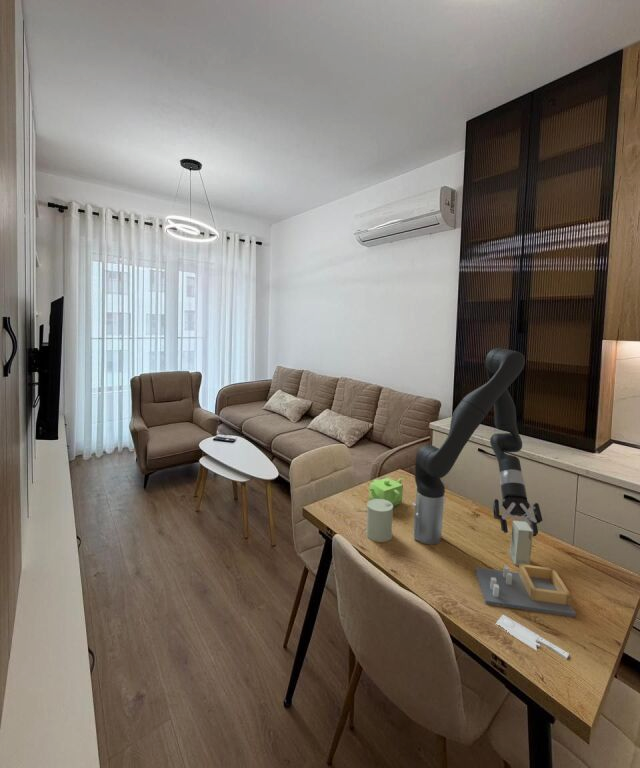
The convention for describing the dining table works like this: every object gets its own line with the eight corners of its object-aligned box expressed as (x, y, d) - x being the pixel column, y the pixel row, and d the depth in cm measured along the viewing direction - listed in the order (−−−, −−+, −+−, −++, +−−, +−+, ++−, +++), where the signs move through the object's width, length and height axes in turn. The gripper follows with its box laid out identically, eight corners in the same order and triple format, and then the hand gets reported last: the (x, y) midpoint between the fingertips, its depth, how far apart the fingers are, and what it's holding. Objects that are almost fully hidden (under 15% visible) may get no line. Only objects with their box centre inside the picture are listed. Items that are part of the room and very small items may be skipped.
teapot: (402, 497, 160) (403, 474, 158) (405, 513, 146) (406, 489, 145) (367, 495, 162) (368, 472, 160) (366, 510, 149) (367, 486, 147)
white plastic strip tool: (561, 670, 82) (561, 665, 82) (494, 627, 93) (494, 623, 93) (568, 656, 85) (569, 652, 85) (503, 617, 97) (503, 613, 96)
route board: (485, 603, 100) (487, 590, 100) (475, 570, 114) (476, 558, 113) (575, 617, 96) (577, 603, 95) (553, 580, 110) (554, 568, 109)
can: (395, 540, 128) (397, 509, 126) (370, 543, 127) (371, 511, 125) (386, 526, 137) (388, 496, 135) (362, 528, 136) (363, 498, 134)
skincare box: (529, 567, 115) (534, 532, 113) (514, 565, 116) (518, 530, 114) (523, 555, 121) (527, 521, 119) (508, 553, 122) (512, 519, 120)
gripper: (493, 479, 126) (499, 528, 117) (538, 483, 124) (548, 533, 115) (488, 487, 132) (493, 534, 123) (531, 491, 130) (540, 539, 121)
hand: (520, 534), depth 119 cm, fingers open, 8 cm apart
